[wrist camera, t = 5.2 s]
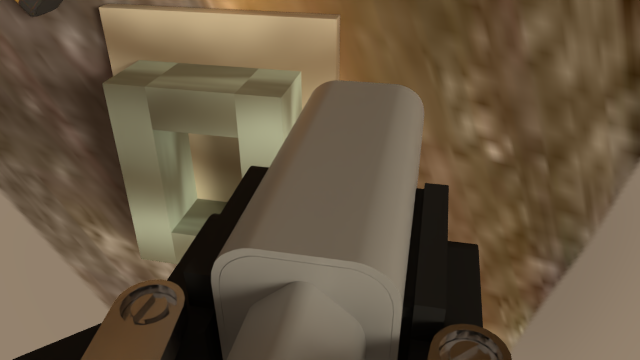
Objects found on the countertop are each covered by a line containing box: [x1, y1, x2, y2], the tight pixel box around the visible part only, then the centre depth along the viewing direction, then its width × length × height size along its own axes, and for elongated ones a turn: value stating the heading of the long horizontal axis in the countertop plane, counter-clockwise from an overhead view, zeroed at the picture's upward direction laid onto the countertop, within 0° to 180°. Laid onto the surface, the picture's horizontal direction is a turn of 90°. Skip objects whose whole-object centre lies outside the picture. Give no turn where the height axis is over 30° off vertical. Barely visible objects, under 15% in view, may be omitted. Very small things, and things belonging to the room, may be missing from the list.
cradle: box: [99, 4, 340, 264], centre depth 33 cm, size 18×14×5 cm
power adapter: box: [211, 80, 424, 360], centre depth 11 cm, size 3×5×12 cm, turn 0°
